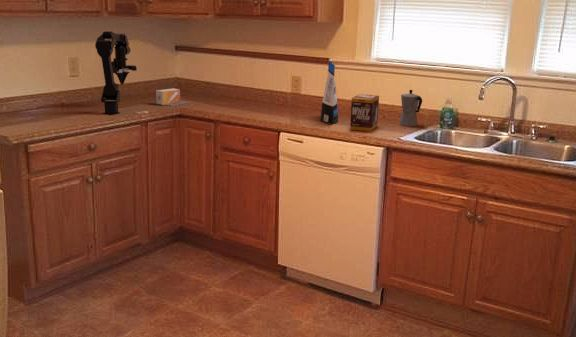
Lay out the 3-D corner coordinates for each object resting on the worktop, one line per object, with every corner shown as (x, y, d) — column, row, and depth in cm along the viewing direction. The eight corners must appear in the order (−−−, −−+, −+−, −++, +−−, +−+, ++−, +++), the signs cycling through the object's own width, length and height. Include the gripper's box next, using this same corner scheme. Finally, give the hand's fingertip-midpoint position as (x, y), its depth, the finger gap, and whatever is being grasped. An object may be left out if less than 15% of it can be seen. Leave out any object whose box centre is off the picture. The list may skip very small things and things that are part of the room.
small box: (162, 91, 347) (180, 89, 356) (155, 90, 351) (173, 88, 361) (162, 105, 349) (180, 102, 359) (156, 103, 354) (174, 101, 363)
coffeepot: (393, 123, 311) (395, 88, 306) (407, 121, 315) (409, 87, 310) (412, 128, 298) (415, 92, 293) (426, 127, 302) (429, 91, 297)
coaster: (141, 114, 321) (141, 113, 321) (131, 113, 325) (131, 112, 324) (150, 112, 327) (150, 111, 327) (141, 111, 330) (141, 110, 330)
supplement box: (349, 129, 293) (351, 97, 289) (357, 124, 307) (359, 93, 303) (370, 131, 289) (372, 99, 285) (377, 125, 303) (379, 95, 299)
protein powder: (323, 124, 303) (325, 65, 295) (317, 116, 327) (319, 60, 319) (341, 124, 304) (344, 65, 296) (335, 116, 327) (337, 60, 319)
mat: (171, 106, 349) (171, 105, 349) (148, 103, 358) (148, 102, 357) (189, 102, 362) (189, 102, 362) (166, 99, 371) (166, 99, 371)
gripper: (122, 54, 346) (124, 81, 350) (97, 56, 331) (99, 84, 335) (136, 55, 340) (138, 83, 345) (111, 57, 325) (113, 86, 329)
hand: (122, 84), depth 338 cm, fingers closed
